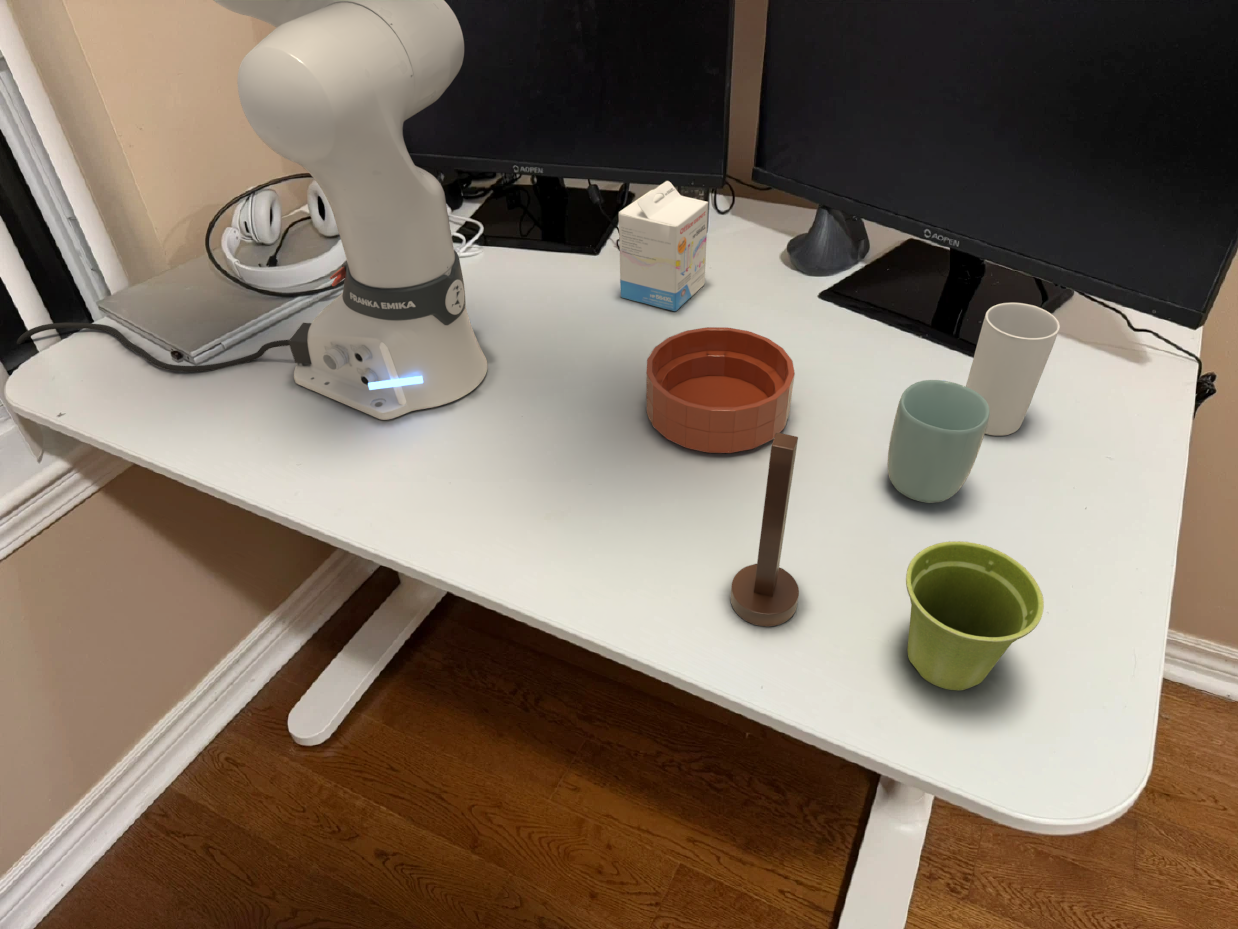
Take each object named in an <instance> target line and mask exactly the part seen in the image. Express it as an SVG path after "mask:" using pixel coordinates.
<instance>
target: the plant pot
mask: <svg viewBox="0 0 1238 929" xmlns="http://www.w3.org/2000/svg"><path fill="white" fill-rule="evenodd" d="M1033 576H1034V575H1032V574H1031V573H1030V571H1028V570H1027V569H1026V568H1025V566H1024V565H1022V564H1021V563H1020V562H1019V561H1017V560H1016V559H1014V558H1013V557H1011V556H1010V555H1007V554H1006V553H1004V552H1003V551H1000V550H998V549H995V548H993V547H991V546H988V545H985V544H981V543H975V542H970V541H961V540H958V541H957V540H955V541H942V542H938V543H935V544H931V545H929V546H926V547H925V548H924V549H921V551H919V552H918V553H916V554H915V555H914V556H913V557H912V558H911V560H910V561H909V564H908V566H907V568H906V575H905V585H906V590H907V594H908V597H909V600H910V614H909V615H910V616H909V628H908V636H907V637H908V638H907V647H906V648H907V658H908V660H909V662H910V663H911V664H912V666H913V667H914V668H915V669H916V671H917V672H918V674H919V675H920V676H921V677H922V678H923V679H924V680H925V681H926V682H928V683H930V684H932V685H934V686H936V687H938V688H941V689H944V690H950V691H965V690H968V689H970V688H972V687H975V686H977V685H979V684H981V683H982V682H983V681H984V680H985V679H986V677H987V676H988V675H989V674H990V672H991V671H992V670H993V668H995V666H996V664H997V663H998V662H999V661H1000V660H1001V658H1002V657H1003V655H1004V654H1005V652H1006V651H1007V650H1008V649H1009V648H1010V646H1011V645H1012V644H1013V643H1015V642H1016V641H1018V640H1020V639H1022V638H1025V637H1026V636H1028V635H1029V634H1031V633H1032V632H1033V631H1034V630H1035V629H1036V628H1037V626H1038V625H1039V624H1040V622H1041V620H1042V617H1043V614H1044V607H1045V605H1044V604H1045V601H1044V596H1043V593H1042V589H1041V588H1040V585H1039V584H1038V582H1037V580H1036V579H1035V578H1034V577H1033Z"/></svg>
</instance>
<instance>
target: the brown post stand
mask: <svg viewBox="0 0 1238 929" xmlns="http://www.w3.org/2000/svg"><path fill="white" fill-rule="evenodd" d="M798 441H799V436H795V435H791V434H787V433H781V432H780V433H776V435H775V437H774V439H773V440H772V443H771V446H770V452H769V454H770V455H769V460H768V470H767V479H766V486H765V496H764V504H763V510H762V512H763V513H762V520H761V521H762V522H761V529H760V537H759V543H758V544H759V546H758V553H757V554H758V555H757V561H756V563H754V564H750V565H747V566H745V567H743V568H741V569H740V570H739V571H737V572H736V573H735V575H734V577H733V579H732V581H731V585H730V586H731V587H730V588H731V589H730V597H729V598H730V604H731V606H732V609H733V610H734V612H735V613H736V615H738V617H740V618H741V619H742V620H743V621H746V622H747V623H748V624H751V625H755V626H759V627H775V626H780V625H782V624H784V623H786V622H787V621H789V620H790V619H791V618H792V617H794V615H795V613H796V611H797V609H798V608H797V607H798V602H799V596H800V589H799V585H798V582H797V580H796V579H795V578H794V577H793V576H792V574H791V573H789V571H787V570H786V569H784V568H781V567H780V564H781V557H782V552H783V551H782V550H783V544H784V536H785V529H786V523H787V516H788V508H789V502H790V495H791V489H792V482H793V476H794V475H793V474H794V468H795V462H796V454H797V448H798Z"/></svg>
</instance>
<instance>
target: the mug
mask: <svg viewBox="0 0 1238 929" xmlns="http://www.w3.org/2000/svg"><path fill="white" fill-rule="evenodd" d="M1060 324H1061V323H1060V322H1059V320H1058V318H1057V317H1056V316H1054V315H1053V313H1051V312H1049V311H1047V310H1046V309H1043V308H1042V307H1039V306H1036V305H1035V304H1034V305H1033V304H1028V303H1023V302H1003V303H998V304H996V305H993V306H990V308H988V310H987V311H986V312H985V316H984V319H983V322H982V325H981V329H980V332H979V336H978V340H977V343H976V348H975V351H974V355H973V359H972V362H971V367H970V369H969V373H968V377H967V381H966V384H965V387H968V388H970V389H972V390H974V391H975V392H977V393H979V394H980V395H981V396H982V397H983V398H984V399H985V400H986V401H987V403H988V406H989V409H990V416H989V421H988V425H987V428H986V431H985V434H984V435H988V436H996V437H997V436H999V437H1002V436H1008V435H1012V434H1014V433H1016V432H1017V431H1018V430H1019V429H1020V428H1021V427H1022V424H1023V422H1024V420H1025V417H1026V415H1027V412H1028V410H1029V408H1030V405H1031V403H1032V400H1033V397H1034V395H1035V393H1036V390H1037V388H1038V385H1039V383H1040V380H1041V377H1042V375H1043V373H1044V370H1045V367H1046V365H1047V362H1048V360H1049V358H1050V355H1051V354H1052V350H1053V347H1054V345H1055V342H1056V339H1057V337H1058V334H1059V332H1060V328H1061V325H1060Z"/></svg>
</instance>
